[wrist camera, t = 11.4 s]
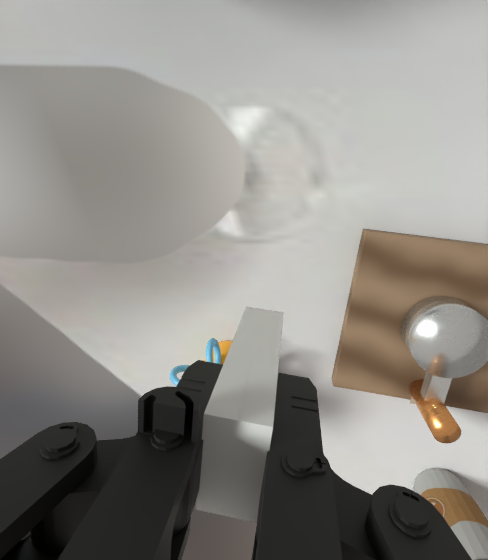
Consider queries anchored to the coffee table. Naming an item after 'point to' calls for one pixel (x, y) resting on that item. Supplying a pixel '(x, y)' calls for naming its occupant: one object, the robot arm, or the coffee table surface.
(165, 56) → the coffee table surface
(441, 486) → the coffee cup
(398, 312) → the base
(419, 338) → the knob
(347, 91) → the coffee table surface
